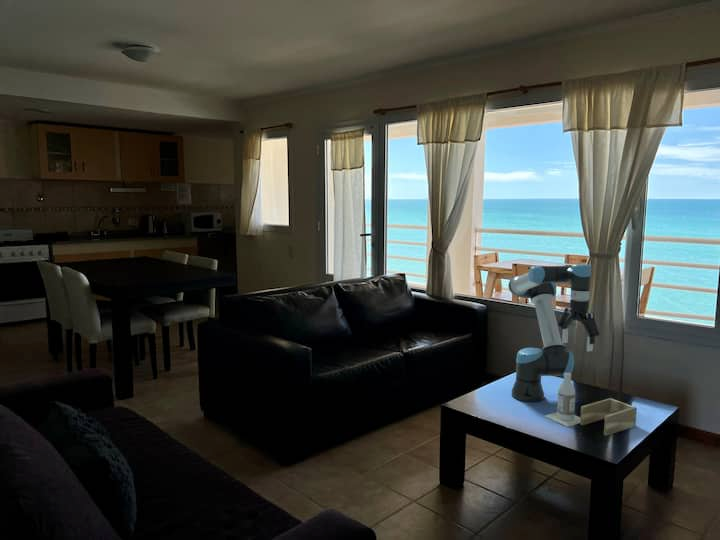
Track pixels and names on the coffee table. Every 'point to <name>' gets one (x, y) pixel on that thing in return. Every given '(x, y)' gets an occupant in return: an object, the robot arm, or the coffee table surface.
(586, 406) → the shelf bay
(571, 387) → the bath foam
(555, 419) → the tile
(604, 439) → the coffee table surface
